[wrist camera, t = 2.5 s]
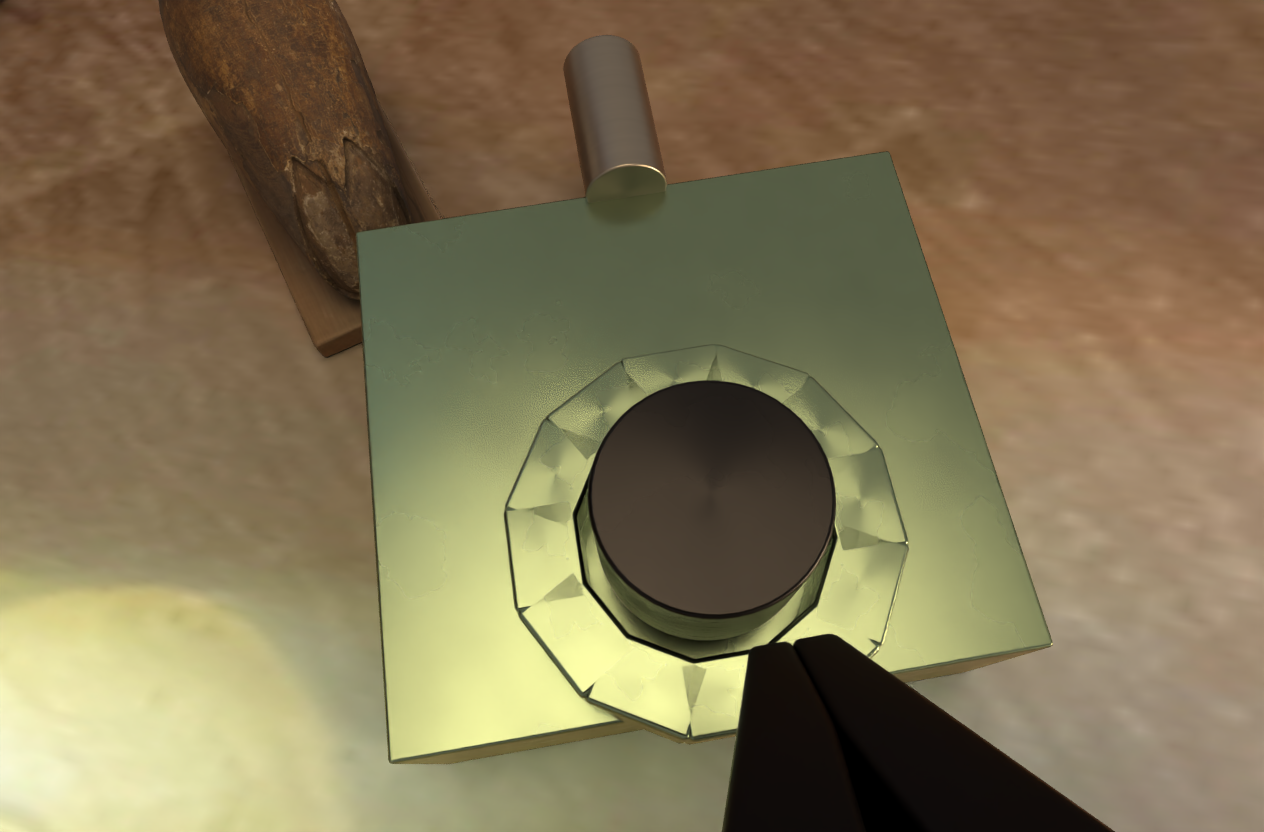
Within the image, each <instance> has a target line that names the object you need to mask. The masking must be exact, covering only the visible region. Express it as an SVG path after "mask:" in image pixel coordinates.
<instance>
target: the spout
mask: <svg viewBox="0 0 1264 832" xmlns="http://www.w3.org/2000/svg"><path fill="white" fill-rule="evenodd" d="M564 76H565V82H566V88H567V93H568V99H569V105H570V110H571V116H572V122H573V127H574V133H575V139H576V144H577V150H578V156H579V161H580V167H581V173H582V178H583V184H584V189H585V195H586V199H587V201H588V203H593V202H599V201H606V200H612V199H619V198H625V197H632V196H639V195H645V194H652V193H658V192H664V191H665V190H666V187H667V180H666V175H665V170H664V166H663V161H662V157H661V152H660V148H659V143H658V138H657V134H656V129H655V125H654V120H653V115H652V111H651V106H650V102H649V97H648V92H647V88H646V83H645V79H644V74H643V70H642V65H641V60H640V56H639V53H638V51H637V49H636V48H635V46H634V45H633V44H632V43H630V42H629V41H628V40H626V39H624V38H621V37H618V36H612V35H602V36H596V37H592V38H589V39H586V40H584V41H582V42H581V43H579V44H578V45H576V46H575V47H574V48H573V49H572V50H571V51H570V52H569V54H568V55H567V57H566V59H565V63H564Z"/></svg>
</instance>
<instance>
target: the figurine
mask: <svg viewBox="0 0 1264 832" xmlns="http://www.w3.org/2000/svg"><path fill="white" fill-rule="evenodd" d="M159 8H160V15H161V18H162V22H163V26H164V30H165V34H166V37H167V41H168V44H169V46H170V49H171V51H172V54H173V56H174V59H175V61H176V63H177V65H178V68H179V70H180V72H181V74H182V76H183V78H184V80H185V82H186V84H187V86H188V87H189V89H190V91H191V93H192V95H193V96H194V98H195V100H196V102H197V103H198V105H199V106H200V108H201V110H202V112H203V113H204V115H205V116H206V118H207V120H208V121H209V123H210V124H211V126H212V127H213V129H214V131H215V132H216V134H217V136H218V137H219V138H220V140H221V141H222V143H223V144H224V146H225V147H226V149H227V151H228V153H229V155H230V158H231V160H232V162H233V164H234V166H235V169H236V171H237V173H238V176H239V178H240V180H241V182H242V184H243V187H244V189H245V191H246V193H247V196H248V198H249V200H250V203H251V205H252V207H253V209H254V212H255V214H256V216H257V218H258V221H259V223H260V225H261V227H262V229H263V232H264V234H265V236H266V238H267V241H268V243H269V245H270V247H271V249H272V252H273V254H274V256H275V258H276V261H277V263H278V265H279V267H280V270H281V272H282V274H283V276H284V279H285V281H286V283H287V285H288V287H289V290H290V292H291V294H292V297H293V299H294V301H295V303H296V305H297V308H298V310H299V312H300V314H301V317H302V319H303V321H304V323H305V326H306V328H307V330H308V332H309V335H310V337H311V339H312V342H313V344H314V346H315V347H316V348H317V350H318V351H319V352H320V353H321V354H322V355H323V356H324V357H328V356H330V355H332V354H335V353H338V352H340V351H342V350H344V349H347V348H349V347H351V346H353V345H356V344H358V343H360V342H362V329H361V313H360V297H359V281H358V265H357V249H356V232H359V231H366V230H372V229H379V228H386V227H392V226H399V225H405V224H412V223H418V222H425V221H432V220H438V219H441V218H440V216H439V214H438V212H437V210H436V209H435V207H434V205H433V203H432V201H431V199H430V197H429V195H428V194H427V192H426V190H425V188H424V186H423V184H422V182H421V180H420V178H419V177H418V175H417V173H416V171H415V169H414V167H413V165H412V163H411V162H410V160H409V158H408V156H407V154H406V152H405V150H404V149H403V147H402V145H401V143H400V141H399V139H398V137H397V135H396V133H395V132H394V130H393V128H392V126H391V124H390V122H389V121H388V119H387V117H386V115H385V113H384V111H383V109H382V107H381V106H380V104H379V102H378V100H377V98H376V95H375V92H374V89H373V86H372V83H371V81H370V79H369V76H368V74H367V71H366V68H365V65H364V63H363V60H362V57H361V54H360V52H359V49H358V47H357V44H356V42H355V39H354V37H353V34H352V32H351V30H350V28H349V25H348V23H347V21H346V19H345V17H344V16H343V14H342V12H341V10H340V8H339V6H338V4H337V2H336V1H335V0H159Z"/></svg>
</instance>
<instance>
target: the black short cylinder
mask: <svg viewBox="0 0 1264 832" xmlns="http://www.w3.org/2000/svg"><path fill="white" fill-rule="evenodd" d="M587 499H588V511H589V518H590V522H591V527H592V531H593V535H594V539H595V543H596V547H597V551H598V555H599V559H600V563H601V566H602V568H603V571H604V574H605V576H606V578H607V580H608V582H609V584H610V586H611V588H612V589H613V591H614V592H615V593H616V595H617V596H618V598H619V599H620V600H621V601H622V602H623V603H624V605H625V606H626V607H627V608H628V609H629V610H630V611H631V612H633V613H634V614H635V615H636V616H637V617H639V618H640V619H641V620H643V621H644V622H646V623H647V624H649V625H651V626H652V627H654V628H656V629H658V630H660V631H663V632H665V633H667V634H670V635H674V636H677V637H680V638H686V639H692V640H720V639H727V638H731V637H735V636H739V635H741V634H744V633H746V632H749V631H752V630H754V629H755V628H757V627H759V626H761V625H762V624H764V623H766V622H767V621H768V620H770V619H771V618H772V617H774V616H775V615H776V614H777V613H778V612H779V611H780V610H781V609H782V608H783V607H784V606H785V605H786V604H787V603H788V602H789V601H790V599H791V598H792V597H793V596H794V595H795V593H796V592H797V591H798V590H799V589H800V587H801V586H802V585H803V584H804V583H805V582H806V580H807V579H808V578H809V577H810V575H811V574H812V573H813V571H814V570H815V569H816V567H817V566H818V564H819V563H820V561H821V559H822V557H823V555H824V554H825V552H826V549H827V547H828V544H829V541H830V539H831V536H832V532H833V527H834V523H835V515H836V489H835V484H834V479H833V474H832V471H831V468H830V465H829V462H828V459H827V457H826V455H825V453H824V450H823V448H822V446H821V444H820V443H819V441H818V440H817V438H816V437H815V435H814V434H813V432H812V431H811V430H810V429H809V427H808V426H807V425H806V424H805V423H804V422H803V420H802V419H801V418H800V417H798V416H797V415H796V414H795V413H794V412H793V411H792V410H791V409H790V408H788V407H787V406H785V405H784V404H783V403H781V402H780V401H778V400H777V399H775V398H773V397H771V396H769V395H768V394H766V393H764V392H761V391H759V390H756V389H754V388H751V387H749V386H745V385H741V384H737V383H733V382H726V381H716V380H701V381H691V382H685V383H681V384H676V385H672V386H670V387H667V388H664V389H661V390H658V391H656V392H654V393H653V394H651V395H649V396H647V397H645V398H643V399H642V400H640V401H639V402H637V403H636V404H634V405H633V406H632V407H630V408H629V409H628V410H627V411H626V412H625V413H624V414H623V415H621V416H620V418H619V419H618V420H617V421H616V422H615V423H614V424H613V426H612V427H611V428H610V430H609V431H608V433H607V434H606V436H605V437H604V439H603V440H602V442H601V444H600V446H599V448H598V450H597V452H596V455H595V458H594V461H593V464H592V467H591V471H590V476H589V482H588V498H587Z"/></svg>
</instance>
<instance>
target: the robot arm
mask: <svg viewBox="0 0 1264 832" xmlns="http://www.w3.org/2000/svg"><path fill="white" fill-rule="evenodd" d="M722 832H1115V831H1113V830H1112V829H1111V828H1109V827H1108V826H1106V825H1105V824H1103V823H1102V822H1101V821H1099V820H1098V819H1096V818H1095V817H1094V816H1092V815H1091V814H1089V813H1088V812H1086V811H1085V810H1084V809H1082V808H1081V807H1079V806H1078V805H1077V804H1075V803H1074V802H1072V801H1071V800H1069V799H1068V798H1067V797H1065V796H1064V795H1062V794H1061V793H1060V792H1058V791H1057V790H1055V789H1054V788H1053V787H1051V786H1050V785H1048V784H1047V783H1045V782H1044V781H1043V780H1041V779H1040V778H1038V777H1037V776H1036V775H1034V774H1033V773H1031V772H1030V771H1028V770H1027V769H1026V768H1024V767H1023V766H1021V765H1020V764H1019V763H1017V762H1016V761H1014V760H1013V759H1011V758H1010V757H1009V756H1007V755H1006V754H1004V753H1003V752H1002V751H1000V750H999V749H997V748H996V747H995V746H993V745H992V744H990V743H989V742H987V741H986V740H985V739H983V738H982V737H980V736H979V735H978V734H976V733H975V732H973V731H972V730H970V729H969V728H968V727H966V726H965V725H963V724H962V723H961V722H959V721H958V720H956V719H955V718H954V717H952V716H951V715H949V714H948V713H946V712H945V711H944V710H942V709H941V708H939V707H938V706H937V705H935V704H934V703H932V702H931V701H929V700H928V699H927V698H925V697H924V696H922V695H921V694H920V693H918V692H917V691H915V690H914V689H912V688H911V687H910V686H908V685H907V684H905V683H904V682H903V681H901V680H900V679H898V678H897V677H896V676H894V675H893V674H891V673H890V672H888V671H887V670H886V669H884V668H883V667H881V666H880V665H879V664H877V663H876V662H874V661H873V660H871V659H870V658H869V657H867V656H866V655H864V654H863V653H862V652H860V651H859V650H857V649H856V648H854V647H853V646H852V645H850V644H849V643H847V642H846V641H845V640H843V639H842V638H840V637H839V636H837V635H834V634H823V635H817V636H811V637H806V638H800V639H797V640H796V641H795V642H794V643H793V645H792V644H791V643H789V642H786V641H783V642H777V643H771V644H766V645H760V646H755V647H753V648H752V649H750V651H749V654H748V661H747V667H746V674H745V681H744V688H743V694H742V701H741V708H740V714H739V721H738V728H737V734H736V741H735V748H734V755H733V761H732V768H731V775H730V781H729V788H728V795H727V801H726V808H725V815H724V822H723V828H722Z"/></svg>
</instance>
